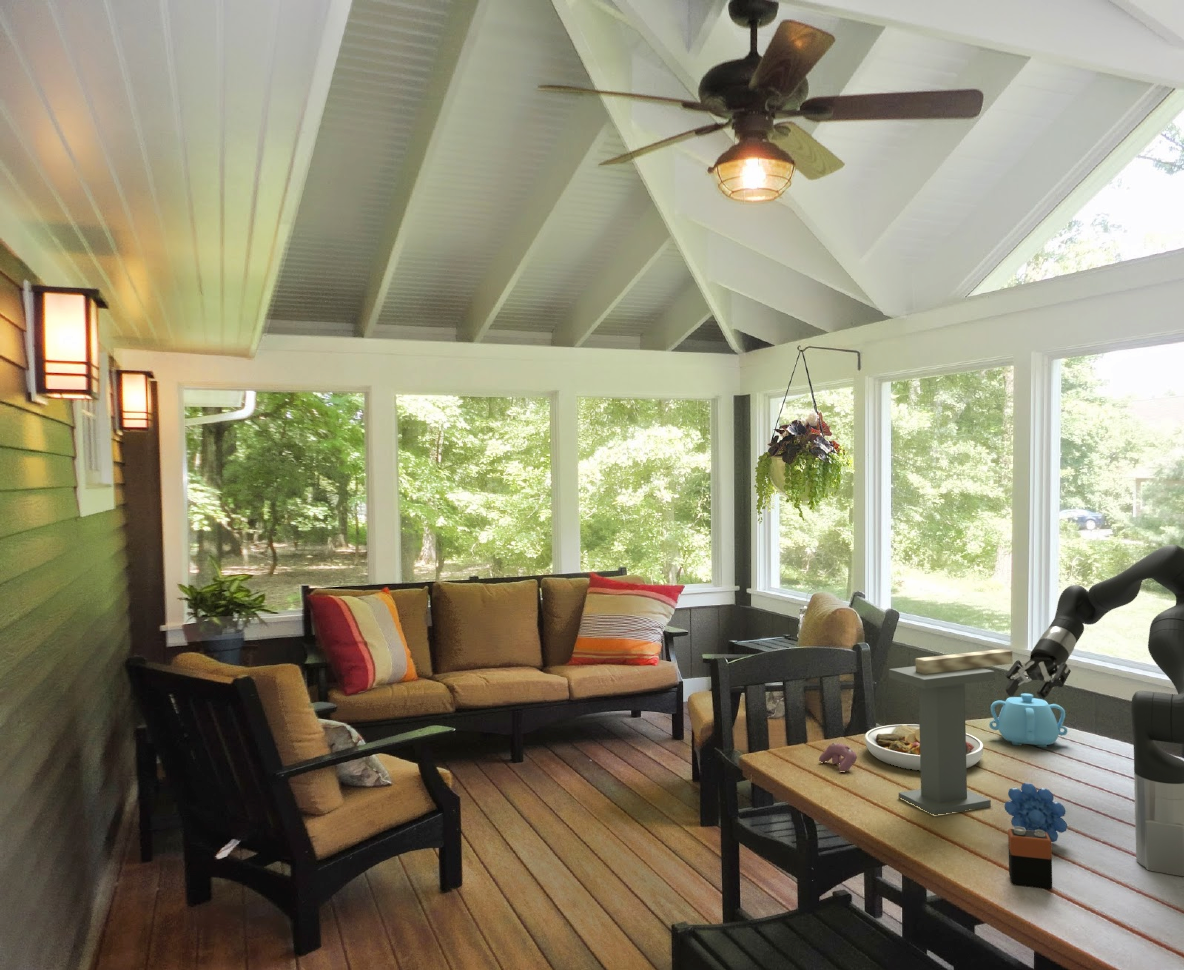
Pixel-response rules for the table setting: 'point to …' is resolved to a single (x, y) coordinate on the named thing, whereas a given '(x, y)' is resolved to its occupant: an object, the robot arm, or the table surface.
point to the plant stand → (943, 739)
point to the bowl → (910, 746)
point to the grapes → (1036, 810)
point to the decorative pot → (1028, 721)
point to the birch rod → (963, 661)
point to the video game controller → (839, 756)
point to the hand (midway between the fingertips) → (1023, 694)
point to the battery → (1030, 858)
